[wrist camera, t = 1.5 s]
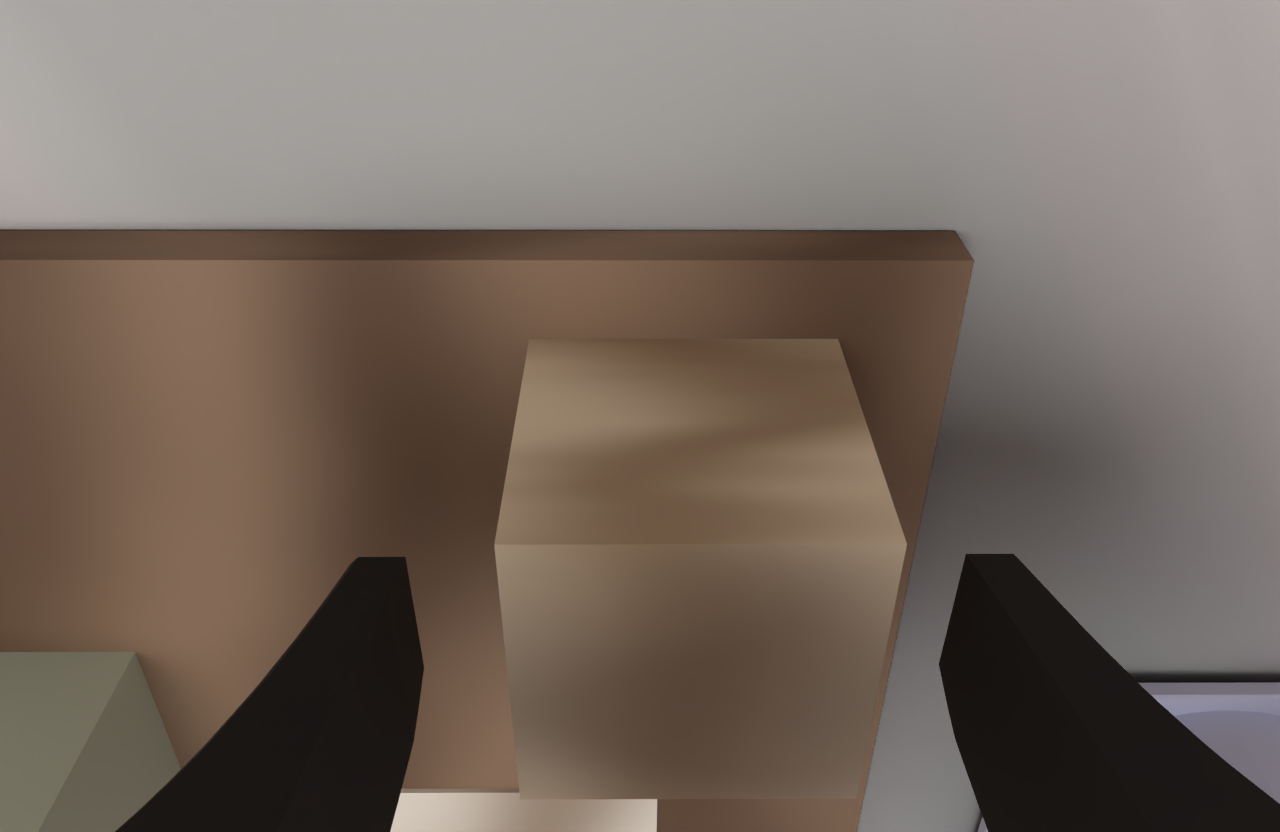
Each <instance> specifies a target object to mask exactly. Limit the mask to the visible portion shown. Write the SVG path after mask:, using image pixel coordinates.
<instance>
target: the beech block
mask: <svg viewBox="0 0 1280 832" xmlns="http://www.w3.org/2000/svg"><path fill="white" fill-rule="evenodd" d="M494 547H495V557H496V567H497V577H498V587H499V596H500V606H501V616H502V626H503V636H504V645H505V655H506V665H507V675H508V685H509V694H510V704H511V714H512V724H513V734H514V744H515V753H516V763H517V773H518V783H519V793H520V800H548V799H856V798H857V793H858V788H859V783H860V778H861V773H862V768H863V763H864V758H865V753H866V748H867V743H868V738H869V733H870V728H871V723H872V718H873V713H874V708H875V703H876V698H877V693H878V688H879V683H880V678H881V673H882V668H883V663H884V657H885V652H886V647H887V642H888V637H889V632H890V627H891V622H892V617H893V612H894V607H895V602H896V597H897V592H898V587H899V582H900V577H901V572H902V567H903V562H904V557H905V552H906V547H907V542H906V540H905V537H904V534H903V531H902V528H901V525H900V522H899V519H898V516H897V513H896V510H895V507H894V504H893V501H892V498H891V495H890V492H889V489H888V486H887V483H886V480H885V477H884V474H883V471H882V468H881V465H880V462H879V459H878V456H877V453H876V450H875V447H874V444H873V441H872V438H871V435H870V432H869V429H868V426H867V423H866V420H865V417H864V414H863V411H862V409H861V406H860V403H859V400H858V397H857V394H856V391H855V388H854V385H853V382H852V379H851V376H850V373H849V370H848V367H847V364H846V361H845V358H844V355H843V352H842V349H841V346H840V343H839V340H838V339H529V343H528V349H527V355H526V361H525V366H524V372H523V378H522V384H521V390H520V396H519V402H518V408H517V414H516V419H515V425H514V431H513V437H512V443H511V449H510V455H509V461H508V467H507V472H506V478H505V484H504V490H503V496H502V502H501V508H500V514H499V520H498V525H497V531H496V537H495V543H494Z"/></svg>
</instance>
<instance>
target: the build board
mask: <svg viewBox="0 0 1280 832" xmlns="http://www.w3.org/2000/svg"><path fill="white" fill-rule="evenodd" d="M973 263H974V260H973V258H972V257H971V255H970V254H969V252H968V250H967V249H966V247H965V246H964V244H963V243H962V241H961V240H960V238H959V236H958V235H957V233H956V232H955V231H171V230H0V652H135V653H136V655H137V658H138V661H139V663H140V666H141V668H142V671H143V673H144V676H145V678H146V681H147V683H148V686H149V688H150V691H151V694H152V696H153V699H154V701H155V704H156V706H157V709H158V711H159V714H160V716H161V719H162V721H163V724H164V726H165V729H166V732H167V734H168V737H169V739H170V742H171V744H172V747H173V749H174V752H175V754H176V757H177V759H178V762H179V764H180V767H181V769H182V768H183V767H184V766H185V765H186V764H187V763H188V762H189V761H190V760H191V759H192V758H193V757H194V756H195V755H196V753H197V752H198V751H199V750H200V749H201V748H202V747H203V746H204V745H205V744H206V743H207V742H208V741H209V740H210V739H211V738H212V736H213V735H214V734H215V733H216V732H217V731H218V730H219V729H220V728H221V726H222V725H223V724H224V723H225V722H226V721H227V720H228V719H229V717H230V716H231V715H232V714H233V713H234V712H235V711H236V710H237V708H238V707H239V706H240V705H241V704H242V703H243V702H244V701H245V699H246V698H247V697H248V696H249V695H250V694H251V693H252V692H253V690H254V689H255V688H256V687H257V686H258V684H259V683H260V682H261V681H262V680H263V678H264V677H265V676H266V675H267V673H268V672H269V671H270V670H271V668H272V667H273V666H274V665H275V663H276V662H277V661H278V660H279V659H280V657H281V656H282V655H283V654H284V652H285V651H286V650H287V649H288V647H289V646H290V645H291V644H292V642H293V641H294V640H295V639H296V637H297V636H298V635H299V633H300V632H301V631H302V629H303V628H304V627H305V625H306V624H307V623H308V622H309V620H310V619H311V618H312V616H313V615H314V614H315V612H316V611H317V610H318V608H319V607H320V606H321V604H322V603H323V601H324V600H325V599H326V597H327V596H328V595H329V593H330V592H331V590H332V589H333V588H334V586H335V585H336V583H337V582H338V581H339V579H340V578H341V576H342V575H343V574H344V572H345V571H346V569H347V568H348V567H349V565H350V564H351V563H352V562H353V561H354V560H355V559H356V558H357V557H406V563H407V569H408V575H409V581H410V587H411V592H412V598H413V604H414V610H415V616H416V622H417V628H418V634H419V640H420V645H421V651H422V657H423V663H424V672H423V680H422V687H421V695H420V702H419V710H418V716H417V723H416V730H415V737H414V742H413V746H412V750H411V754H410V758H409V762H408V766H407V770H406V774H405V778H404V782H403V785H402V789H401V793H400V797H399V801H398V805H397V808H396V812H395V816H394V820H393V823H392V827H391V831H390V832H857V828H858V823H859V818H860V813H861V809H862V804H863V799H864V794H865V789H866V784H867V779H868V774H869V770H870V765H871V760H872V755H873V750H874V745H875V740H876V735H877V731H878V726H879V721H880V716H881V711H882V706H883V701H884V696H885V692H886V687H887V682H888V677H889V672H890V667H891V662H892V657H893V653H894V648H895V643H896V638H897V633H898V628H899V623H900V618H901V614H902V609H903V604H904V599H905V594H906V589H907V584H908V579H909V575H910V570H911V565H912V560H913V555H914V550H915V545H916V541H917V536H918V531H919V526H920V521H921V516H922V511H923V506H924V502H925V497H926V492H927V487H928V482H929V477H930V472H931V467H932V463H933V458H934V453H935V448H936V443H937V438H938V433H939V428H940V424H941V419H942V414H943V409H944V404H945V399H946V394H947V389H948V385H949V380H950V375H951V370H952V365H953V360H954V355H955V350H956V346H957V341H958V336H959V331H960V326H961V321H962V316H963V312H964V307H965V302H966V297H967V292H968V287H969V282H970V277H971V273H972V268H973ZM529 339H838V340H839V343H840V346H841V349H842V352H843V355H844V358H845V361H846V364H847V367H848V370H849V373H850V376H851V379H852V382H853V385H854V388H855V391H856V394H857V397H858V400H859V403H860V406H861V409H862V411H863V414H864V417H865V420H866V423H867V426H868V429H869V432H870V435H871V438H872V441H873V444H874V447H875V450H876V453H877V456H878V459H879V462H880V465H881V468H882V471H883V474H884V477H885V480H886V483H887V486H888V489H889V492H890V495H891V498H892V501H893V504H894V507H895V510H896V513H897V516H898V519H899V522H900V525H901V528H902V531H903V534H904V537H905V540H906V542H907V547H906V552H905V557H904V562H903V567H902V572H901V577H900V582H899V587H898V592H897V597H896V602H895V607H894V612H893V617H892V622H891V627H890V632H889V637H888V642H887V647H886V652H885V657H884V663H883V668H882V673H881V678H880V683H879V688H878V693H877V698H876V703H875V708H874V713H873V718H872V723H871V728H870V733H869V738H868V743H867V748H866V753H865V758H864V763H863V768H862V773H861V778H860V783H859V788H858V793H857V798H856V799H548V800H520V793H519V783H518V773H517V763H516V753H515V744H514V734H513V724H512V714H511V704H510V694H509V685H508V675H507V665H506V655H505V645H504V636H503V626H502V616H501V606H500V596H499V587H498V577H497V567H496V557H495V547H494V543H495V537H496V531H497V525H498V520H499V514H500V508H501V502H502V496H503V490H504V484H505V478H506V472H507V467H508V461H509V455H510V449H511V443H512V437H513V431H514V425H515V419H516V414H517V408H518V402H519V396H520V390H521V384H522V378H523V372H524V366H525V361H526V355H527V349H528V343H529Z"/></svg>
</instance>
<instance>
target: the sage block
mask: <svg viewBox="0 0 1280 832" xmlns="http://www.w3.org/2000/svg"><path fill="white" fill-rule="evenodd" d="M180 770H181V767H180V764H179V762H178V759H177V757H176V754H175V752H174V749H173V747H172V744H171V742H170V739H169V737H168V734H167V732H166V729H165V726H164V724H163V721H162V719H161V716H160V714H159V711H158V709H157V706H156V704H155V701H154V699H153V696H152V694H151V691H150V688H149V686H148V683H147V681H146V678H145V676H144V673H143V671H142V668H141V666H140V663H139V661H138V658H137V655H136V653H135V652H0V832H115V831H116V830H117V829H118V828H119V827H120V826H122V825H123V824H124V823H125V822H126V821H127V820H128V819H129V818H131V817H132V816H133V815H134V814H135V813H136V812H137V811H138V810H140V809H141V808H142V807H143V806H144V805H145V804H146V803H147V802H148V801H149V800H150V799H151V798H152V797H153V796H154V795H155V794H156V793H157V792H158V791H159V790H160V789H162V788H163V787H164V786H165V785H166V784H167V783H168V782H169V781H170V780H171V779H172V778H173V777H174V776H175V775H176V774H177V773H178V772H179V771H180Z"/></svg>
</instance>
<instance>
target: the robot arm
mask: <svg viewBox="0 0 1280 832" xmlns="http://www.w3.org/2000/svg"><path fill="white" fill-rule="evenodd" d="M939 666H940V671H941V676H942V681H943V686H944V691H945V696H946V700H947V705H948V709H949V714H950V718H951V722H952V727H953V731H954V735H955V739H956V742H957V745H958V748H959V751H960V754H961V757H962V759H963V762H964V765H965V768H966V771H967V774H968V777H969V779H970V782H971V785H972V788H973V791H974V794H975V797H976V799H977V802H978V805H979V808H980V810H981V813H982V820H981V823H980V826H979V829H978V832H1280V682H1236V683H1138V682H1137V681H1136V680H1135V679H1134V678H1133V677H1132V676H1131V675H1130V674H1129V673H1128V672H1127V671H1126V670H1125V669H1124V668H1123V667H1122V666H1121V665H1120V664H1119V663H1118V662H1117V661H1116V660H1115V659H1114V658H1113V657H1111V656H1110V655H1109V654H1108V653H1107V652H1106V651H1105V650H1104V649H1103V647H1102V646H1101V645H1100V644H1099V643H1098V642H1097V641H1096V640H1095V639H1094V638H1093V637H1092V636H1091V635H1090V634H1089V633H1088V632H1087V631H1086V630H1085V629H1084V628H1083V627H1082V626H1081V625H1080V624H1079V623H1078V622H1077V621H1076V619H1075V618H1074V617H1073V616H1072V615H1071V614H1070V613H1069V612H1068V611H1067V610H1066V609H1065V608H1064V607H1063V606H1062V605H1061V604H1060V603H1059V602H1058V601H1057V599H1056V598H1055V597H1054V596H1053V595H1052V594H1051V593H1050V592H1049V591H1048V590H1047V589H1046V588H1045V587H1044V586H1043V585H1042V584H1041V582H1040V581H1039V580H1038V579H1037V578H1036V577H1035V576H1034V575H1033V574H1032V573H1031V572H1030V571H1029V570H1028V569H1027V568H1026V567H1025V566H1024V564H1023V563H1022V562H1021V561H1020V560H1019V559H1018V558H1017V557H1016V556H1015V555H1014V554H966V556H965V561H964V565H963V569H962V573H961V577H960V581H959V585H958V589H957V593H956V597H955V601H954V605H953V609H952V613H951V617H950V621H949V625H948V630H947V634H946V638H945V642H944V646H943V650H942V654H941V658H940V662H939ZM423 672H424V663H423V657H422V651H421V645H420V640H419V634H418V628H417V622H416V616H415V610H414V604H413V598H412V592H411V587H410V581H409V575H408V569H407V563H406V557H357V558H356V559H355V560H354V561H353V562H352V563H351V564H350V565H349V567H348V568H347V569H346V571H345V572H344V574H343V575H342V576H341V578H340V579H339V581H338V582H337V583H336V585H335V586H334V588H333V589H332V590H331V592H330V593H329V595H328V596H327V597H326V599H325V600H324V601H323V603H322V604H321V606H320V607H319V608H318V610H317V611H316V612H315V614H314V615H313V616H312V618H311V619H310V620H309V622H308V623H307V624H306V625H305V627H304V628H303V629H302V631H301V632H300V633H299V635H298V636H297V637H296V639H295V640H294V641H293V642H292V644H291V645H290V646H289V647H288V649H287V650H286V651H285V652H284V654H283V655H282V656H281V657H280V659H279V660H278V661H277V662H276V663H275V665H274V666H273V667H272V668H271V670H270V671H269V672H268V673H267V675H266V676H265V677H264V678H263V680H262V681H261V682H260V683H259V684H258V686H257V687H256V688H255V689H254V690H253V692H252V693H251V694H250V695H249V696H248V697H247V698H246V699H245V701H244V702H243V703H242V704H241V705H240V706H239V707H238V708H237V710H236V711H235V712H234V713H233V714H232V715H231V716H230V717H229V719H228V720H227V721H226V722H225V723H224V724H223V725H222V726H221V728H220V729H219V730H218V731H217V732H216V733H215V734H214V735H213V736H212V738H211V739H210V740H209V741H208V742H207V743H206V744H205V745H204V746H203V747H202V748H201V749H200V750H199V751H198V752H197V753H196V755H195V756H194V757H193V758H192V759H191V760H190V761H189V762H188V763H187V764H186V765H185V766H184V767H183V768H182V769H181V770H180V771H179V772H178V773H177V774H176V775H175V776H174V777H173V778H172V779H171V780H170V781H169V782H168V783H167V784H166V785H165V786H164V787H163V788H162V789H160V790H159V791H158V792H157V793H156V794H155V795H154V796H153V797H152V798H151V799H150V800H149V801H148V802H147V803H146V804H145V805H144V806H143V807H142V808H141V809H140V810H138V811H137V812H136V813H135V814H134V815H133V816H132V817H131V818H129V819H128V820H127V821H126V822H125V823H124V824H123V825H122V826H120V827H119V828H118V829H117V830H116V831H115V832H390V831H391V827H392V823H393V820H394V816H395V812H396V808H397V805H398V801H399V797H400V793H401V789H402V785H403V782H404V778H405V774H406V770H407V766H408V762H409V758H410V754H411V750H412V746H413V742H414V737H415V730H416V723H417V716H418V710H419V702H420V695H421V687H422V680H423Z"/></svg>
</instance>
